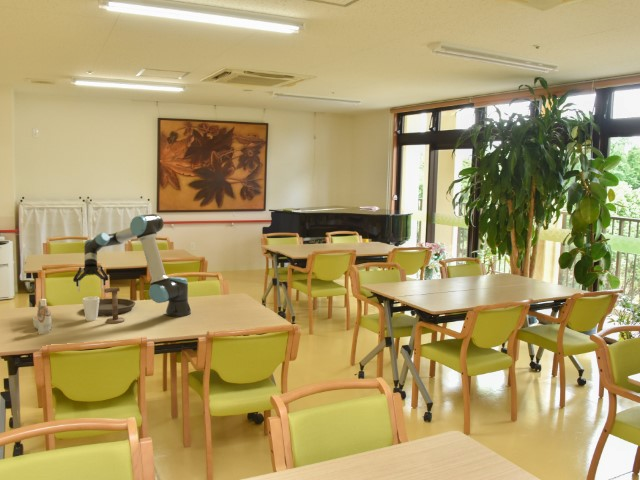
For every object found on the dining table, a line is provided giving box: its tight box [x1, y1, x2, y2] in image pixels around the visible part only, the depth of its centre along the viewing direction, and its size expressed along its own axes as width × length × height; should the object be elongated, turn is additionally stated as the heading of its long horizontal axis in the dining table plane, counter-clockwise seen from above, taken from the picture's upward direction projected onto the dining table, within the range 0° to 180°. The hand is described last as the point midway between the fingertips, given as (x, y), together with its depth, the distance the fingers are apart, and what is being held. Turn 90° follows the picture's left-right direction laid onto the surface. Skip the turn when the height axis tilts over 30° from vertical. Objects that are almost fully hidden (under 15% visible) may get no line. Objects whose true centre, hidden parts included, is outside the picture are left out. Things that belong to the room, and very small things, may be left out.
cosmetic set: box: [32, 298, 52, 335], centre depth 330 cm, size 25×9×19 cm, turn 32°
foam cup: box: [81, 296, 100, 322], centre depth 350 cm, size 10×9×13 cm
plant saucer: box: [98, 297, 136, 316], centre depth 374 cm, size 31×31×5 cm
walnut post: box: [103, 286, 125, 325], centre depth 347 cm, size 10×10×20 cm
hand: (91, 289), depth 359 cm, fingers open, 13 cm apart
